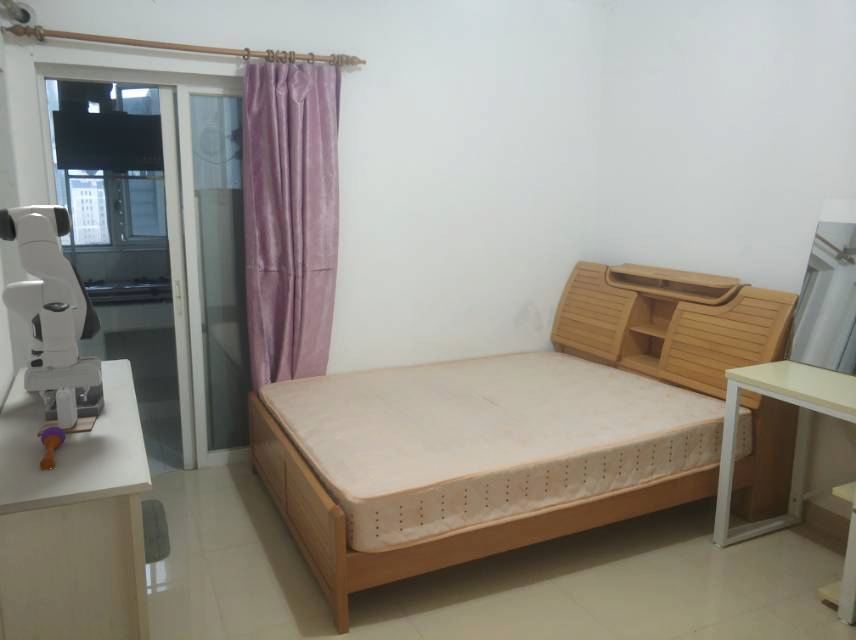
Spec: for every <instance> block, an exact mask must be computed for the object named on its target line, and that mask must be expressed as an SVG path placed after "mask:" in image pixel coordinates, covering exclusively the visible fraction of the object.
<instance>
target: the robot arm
mask: <svg viewBox="0 0 856 640" xmlns="http://www.w3.org/2000/svg"><path fill="white" fill-rule="evenodd" d="M72 224H73V220H72V216H71V214H70V213H69V211H68V209H67V208H66V207H65V206H62V205H58V204H57V205H56V204H53V205H41V204H39V205H38V204H37V205H30V206H29V205H27V206H17V207H11V208H10V207H9V208H7V207H5V208H0V239H1V240H3V241H8V242H14V241H16V243H17V244H16V245H17V251H18V255H19V261H20V266H21V268H22V269H23V270H24V272H26V273H27V274H28V275H30V276H33V277H35V278H37V279H40V280H23V281H22V280H21V281H15V282H12V283H8V284H6V286H5V287H4V289H3V290H2V295H1V298H2V299H1V300H2V302H3V304H4V306H5V307H6V308H7V309H8V310H10V311H11V312H14V313H15V314H16V315H18V316H19V317H20V318H21V319H22V320H23V321H24V322H25V324H26V326H27V329H28V331H29V334H30V341H31V350H30V351H31V352H30V355H31V357H30V358H29V359H28V360H26V367H27V369H26V370H25V371H24V377H23V387H24V390H25V391H27V392H38V393H39V396H40V397H41V398H42V399H43V400H44V406H45V405H50V404H51V402H52V397H50V396H48V395H47V394H46V392H47V391H51V390H52V391H53V390H55V389H60V388H63V389H64V387H67V388H79V387H83V389H84V390H86V391H85V393H84V394H82V395H81V396H80V401H86V400H87V398H86V394H87V393H88V391H89V389H90V387H92V386H99V385H100V384H101V382H103V375H102V376H101V371H102V370H101V371H100V368H101V369H102V359H101V358H99V357H97V356H96V355H90V356H89V355H88V356H86V355H85V356H84V355H83V356H82V355H80V356H79V349H78V348H79V347H78V343H77V341H78V340H79V341H84V340H85V341H87V340H89V341H91V340H92V339H94V338H95V337H96V336H97V335H98V334H99V333H100V332H101V329H102V327H101V326H102V324H101V319H100V316H99V315H98V313H97V310H96V308H95V306H94V305H93V303H92V301H91V298H90V296H89V292H88V290H87V288H86V286H85V284H84V281H83V279H82V277H81V274H80V272H79V270H78V268H77V267H76V265H75V263H74V262H73V261H71V260H68V259H67V257H65V256H64V254H63V253H62V251H61V250H60V246H59V241H58V238H61V237H65V236H68V234H70V233H71V229H72V226H73V225H72ZM100 359H101V360H100Z"/></svg>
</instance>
